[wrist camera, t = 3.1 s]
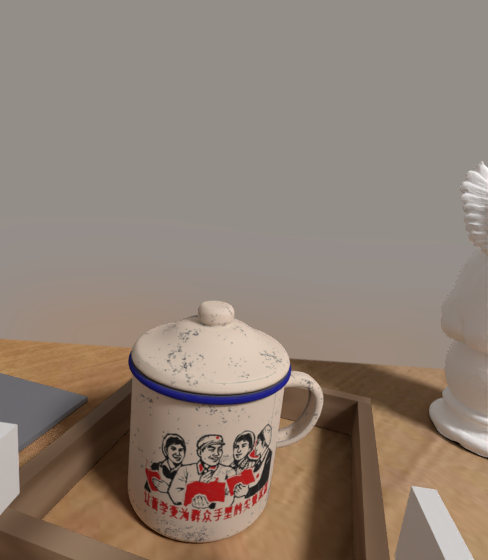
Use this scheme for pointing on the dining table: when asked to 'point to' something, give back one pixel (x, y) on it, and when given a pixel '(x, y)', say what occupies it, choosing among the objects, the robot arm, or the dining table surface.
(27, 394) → the charcoal mat
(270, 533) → the dining table surface
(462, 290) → the cherub figurine
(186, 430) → the teacup with lid
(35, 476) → the walnut box
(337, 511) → the dining table surface
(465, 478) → the dining table surface
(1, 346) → the dining table surface
